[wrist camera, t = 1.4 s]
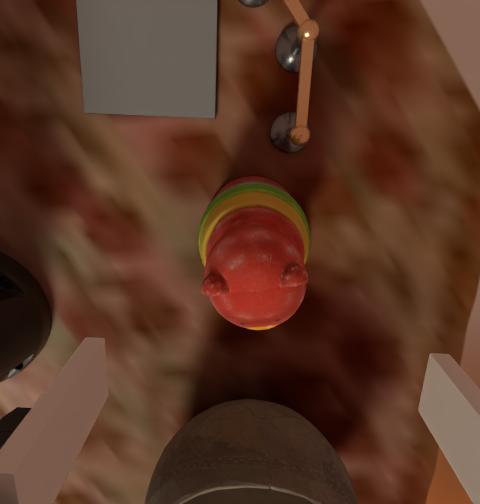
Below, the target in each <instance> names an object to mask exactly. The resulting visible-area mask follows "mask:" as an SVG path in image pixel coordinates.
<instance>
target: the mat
mask: <svg viewBox="0 0 480 504" xmlns="http://www.w3.org/2000/svg"><path fill="white" fill-rule="evenodd" d="M76 4H77V18H78V32H79V45H80V59H81V73H82V87H83V101H84V113H102V114H125V115H149V116H172V117H196V118H215V110H216V62H217V14H218V0H76Z"/></svg>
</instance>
